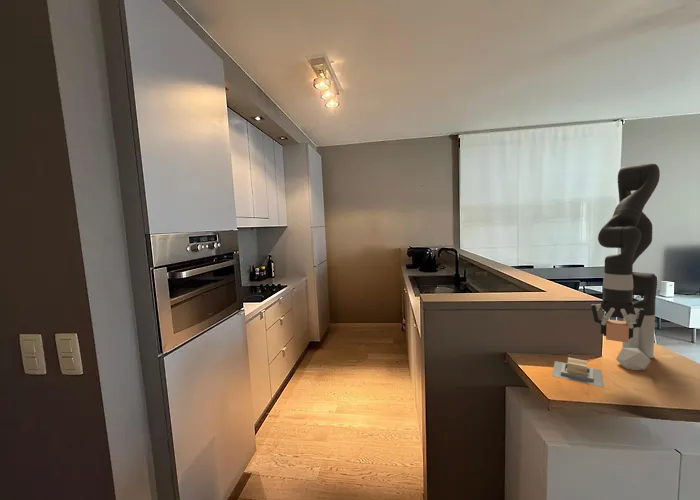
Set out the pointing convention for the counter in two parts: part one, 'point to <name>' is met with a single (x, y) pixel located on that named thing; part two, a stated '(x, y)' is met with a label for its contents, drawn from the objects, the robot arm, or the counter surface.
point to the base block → (577, 366)
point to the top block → (617, 331)
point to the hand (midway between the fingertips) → (616, 336)
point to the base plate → (592, 374)
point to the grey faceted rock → (633, 359)
